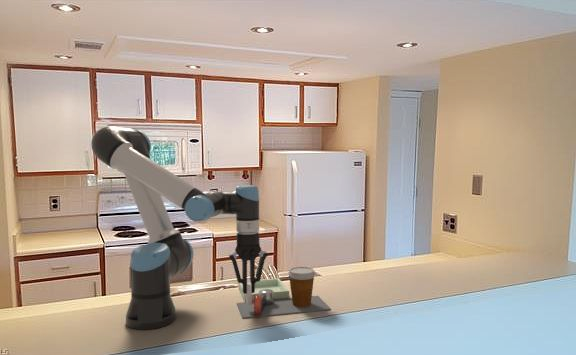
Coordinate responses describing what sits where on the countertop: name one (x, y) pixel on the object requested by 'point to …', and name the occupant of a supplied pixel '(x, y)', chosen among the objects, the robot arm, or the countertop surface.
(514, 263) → the countertop surface
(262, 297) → the crank
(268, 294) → the hub
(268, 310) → the mat
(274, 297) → the tray
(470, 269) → the countertop surface
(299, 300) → the disposable coffee cup
